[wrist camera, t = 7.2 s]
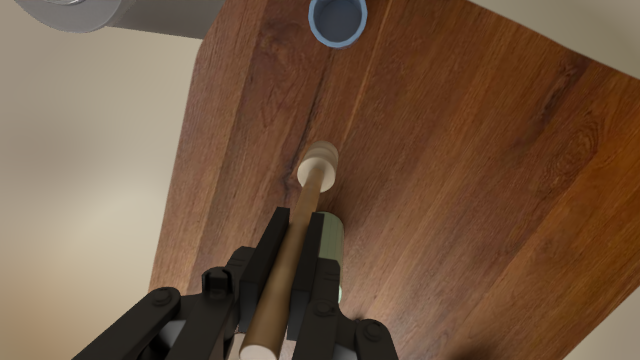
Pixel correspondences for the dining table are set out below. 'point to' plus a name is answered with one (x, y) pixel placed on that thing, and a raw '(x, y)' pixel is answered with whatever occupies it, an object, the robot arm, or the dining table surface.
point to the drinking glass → (236, 346)
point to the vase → (333, 242)
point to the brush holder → (337, 21)
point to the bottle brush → (288, 258)
